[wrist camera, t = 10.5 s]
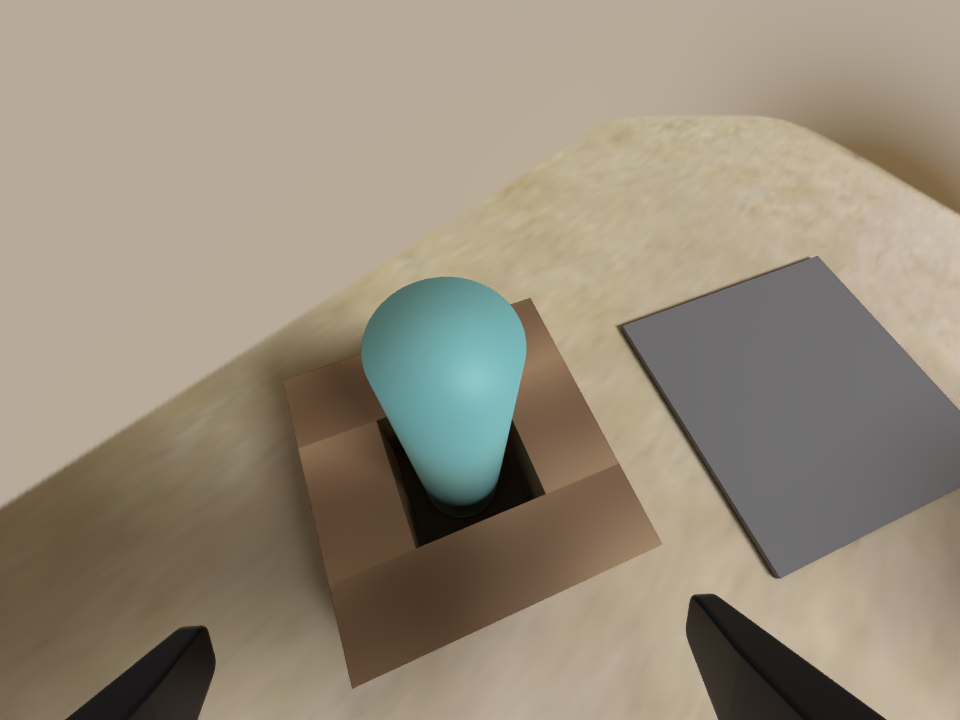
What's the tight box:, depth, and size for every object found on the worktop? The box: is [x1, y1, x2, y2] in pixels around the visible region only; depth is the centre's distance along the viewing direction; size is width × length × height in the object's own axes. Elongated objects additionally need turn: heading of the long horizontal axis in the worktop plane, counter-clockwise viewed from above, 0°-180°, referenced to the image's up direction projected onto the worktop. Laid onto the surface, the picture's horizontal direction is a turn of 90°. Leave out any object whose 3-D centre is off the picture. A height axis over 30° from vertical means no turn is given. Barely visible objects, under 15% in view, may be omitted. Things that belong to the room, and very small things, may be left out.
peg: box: [361, 277, 526, 517], centre depth 14 cm, size 3×3×12 cm
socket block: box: [283, 298, 662, 689], centre depth 17 cm, size 10×10×4 cm
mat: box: [621, 256, 960, 578], centre depth 21 cm, size 12×12×1 cm
